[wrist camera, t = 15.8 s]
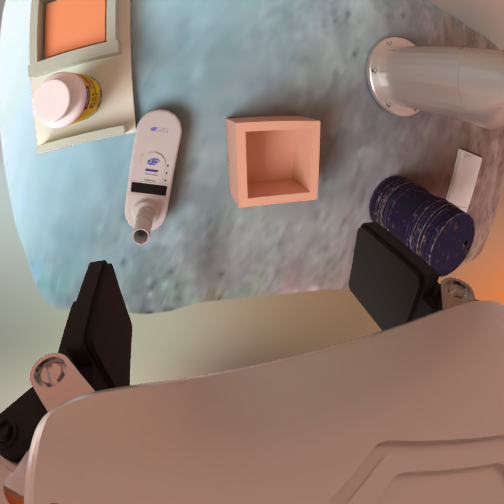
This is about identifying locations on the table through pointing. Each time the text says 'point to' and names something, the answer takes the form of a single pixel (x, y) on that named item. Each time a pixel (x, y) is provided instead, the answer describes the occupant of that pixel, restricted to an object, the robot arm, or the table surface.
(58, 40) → the cradle plate
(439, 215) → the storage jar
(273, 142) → the cup
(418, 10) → the table surface
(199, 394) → the robot arm
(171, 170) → the electronic device
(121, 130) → the cream tray with frame
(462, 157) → the hard drive
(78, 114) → the supplement bottle
